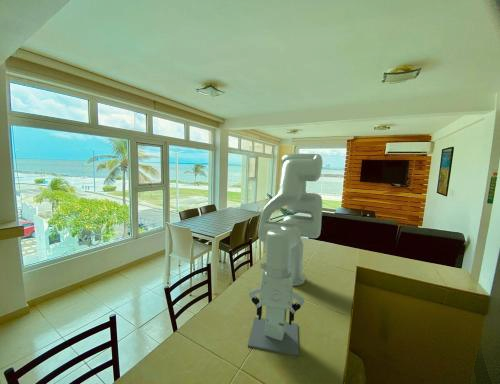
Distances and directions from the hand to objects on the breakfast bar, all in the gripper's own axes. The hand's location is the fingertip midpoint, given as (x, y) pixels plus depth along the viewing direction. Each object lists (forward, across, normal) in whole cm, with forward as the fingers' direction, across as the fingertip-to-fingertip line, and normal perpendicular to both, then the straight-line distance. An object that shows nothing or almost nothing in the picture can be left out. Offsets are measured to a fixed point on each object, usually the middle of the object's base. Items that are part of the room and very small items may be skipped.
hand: (274, 319), depth 67 cm
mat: (+6, 0, 0) cm, 6 cm away
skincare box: (+5, 0, 0) cm, 5 cm away
